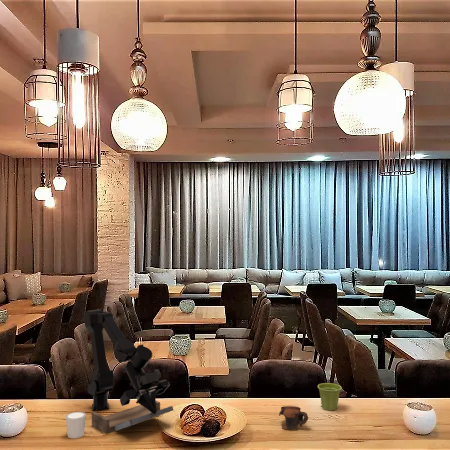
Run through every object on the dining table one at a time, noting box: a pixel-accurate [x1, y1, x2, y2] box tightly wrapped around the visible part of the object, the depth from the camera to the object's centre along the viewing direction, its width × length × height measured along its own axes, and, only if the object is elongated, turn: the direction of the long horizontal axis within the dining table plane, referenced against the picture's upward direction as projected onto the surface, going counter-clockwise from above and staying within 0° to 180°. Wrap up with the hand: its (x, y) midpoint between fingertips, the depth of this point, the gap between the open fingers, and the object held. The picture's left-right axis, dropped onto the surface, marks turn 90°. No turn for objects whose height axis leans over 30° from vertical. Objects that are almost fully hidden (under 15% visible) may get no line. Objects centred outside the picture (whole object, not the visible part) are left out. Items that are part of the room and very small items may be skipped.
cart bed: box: [91, 400, 161, 435], centre depth 187 cm, size 10×24×5 cm, turn 135°
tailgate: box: [114, 405, 174, 432], centre depth 179 cm, size 2×18×12 cm
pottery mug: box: [278, 405, 309, 431], centre depth 182 cm, size 12×10×8 cm
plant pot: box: [317, 382, 343, 411], centre depth 199 cm, size 9×9×9 cm
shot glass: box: [65, 411, 87, 439], centre depth 175 cm, size 7×7×7 cm
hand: (155, 413), depth 175 cm, fingers closed
